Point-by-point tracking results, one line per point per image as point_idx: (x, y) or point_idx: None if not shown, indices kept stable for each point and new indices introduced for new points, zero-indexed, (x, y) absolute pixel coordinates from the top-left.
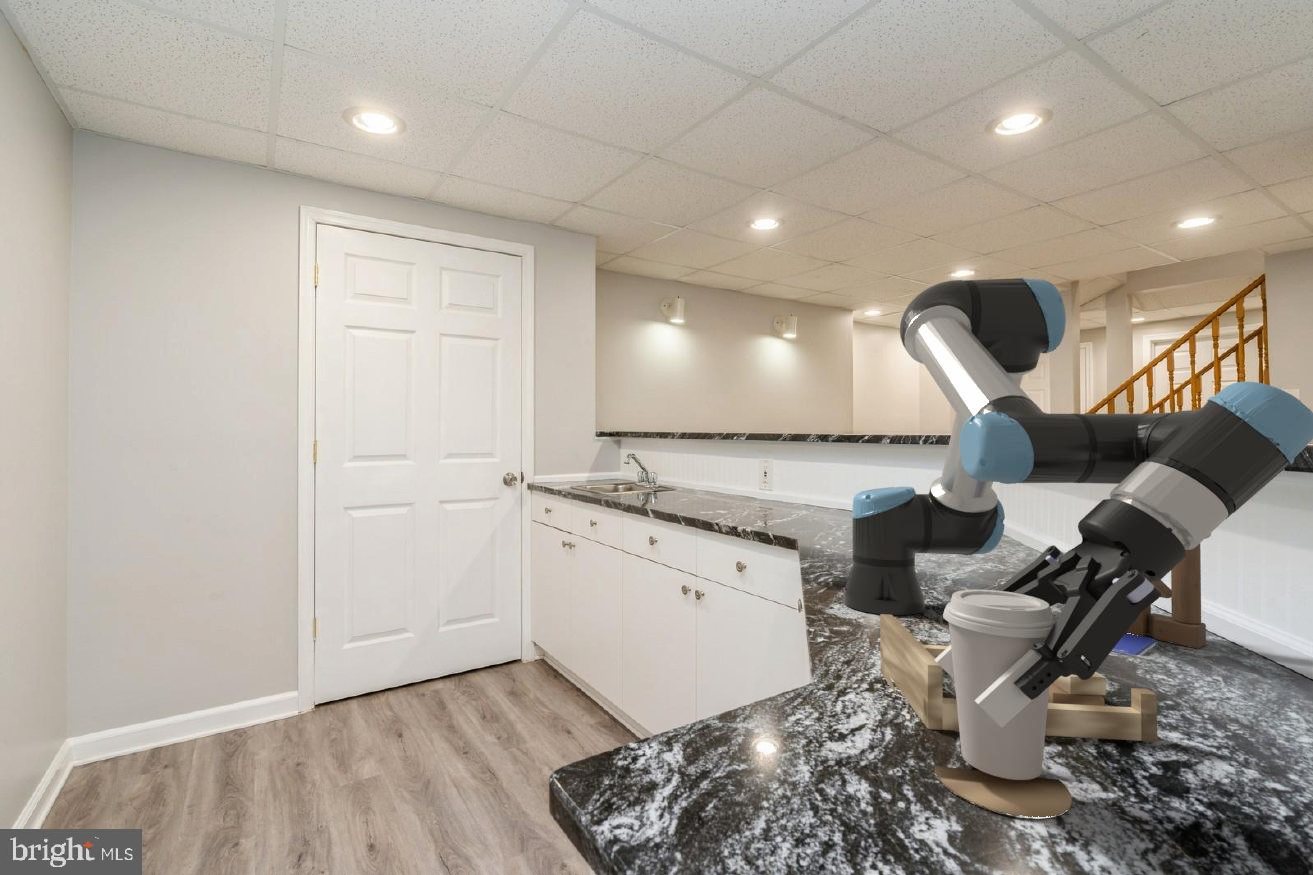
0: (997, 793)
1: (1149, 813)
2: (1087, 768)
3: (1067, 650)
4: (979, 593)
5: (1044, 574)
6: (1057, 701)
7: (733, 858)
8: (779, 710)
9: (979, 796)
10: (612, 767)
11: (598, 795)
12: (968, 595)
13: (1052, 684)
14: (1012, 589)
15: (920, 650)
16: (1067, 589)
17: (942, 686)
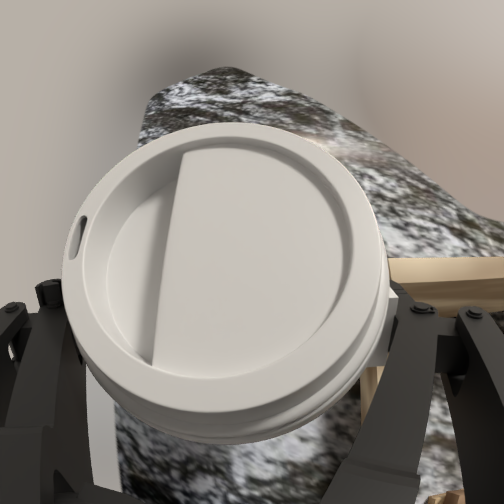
0: None
1: (202, 494)
2: (305, 486)
3: (5, 312)
4: (344, 217)
5: (337, 497)
6: (451, 498)
7: (144, 133)
8: (385, 164)
9: None
10: (246, 76)
11: (212, 77)
12: (309, 177)
13: None
14: (483, 391)
15: (459, 268)
16: (37, 428)
17: None
